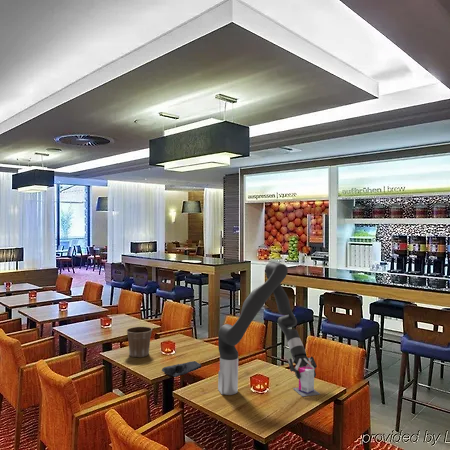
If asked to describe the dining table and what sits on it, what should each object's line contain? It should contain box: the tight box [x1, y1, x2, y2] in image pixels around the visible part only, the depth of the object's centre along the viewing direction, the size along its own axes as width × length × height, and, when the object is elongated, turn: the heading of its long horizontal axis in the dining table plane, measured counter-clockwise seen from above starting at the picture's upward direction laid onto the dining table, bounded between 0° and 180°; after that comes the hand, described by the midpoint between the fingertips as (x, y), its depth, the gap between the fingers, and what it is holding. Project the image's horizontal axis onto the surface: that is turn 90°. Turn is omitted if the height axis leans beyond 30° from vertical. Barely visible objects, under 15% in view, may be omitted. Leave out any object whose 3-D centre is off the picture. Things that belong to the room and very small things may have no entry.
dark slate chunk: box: [161, 360, 202, 378], centre depth 234 cm, size 15×22×5 cm
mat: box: [292, 386, 321, 398], centre depth 206 cm, size 10×10×1 cm
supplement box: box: [298, 366, 315, 394], centre depth 206 cm, size 6×6×12 cm
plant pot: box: [125, 326, 153, 358], centre depth 260 cm, size 16×16×16 cm
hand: (307, 377), depth 205 cm, fingers open, 8 cm apart
